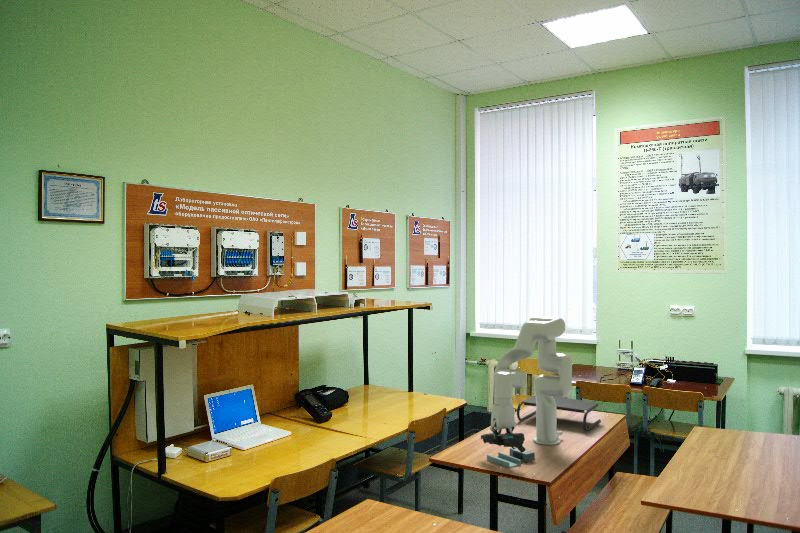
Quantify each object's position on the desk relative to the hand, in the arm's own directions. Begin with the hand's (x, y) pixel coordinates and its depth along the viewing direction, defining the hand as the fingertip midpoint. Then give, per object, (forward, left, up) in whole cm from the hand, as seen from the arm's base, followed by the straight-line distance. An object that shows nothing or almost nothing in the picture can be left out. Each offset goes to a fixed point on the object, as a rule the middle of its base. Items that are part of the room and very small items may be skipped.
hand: (503, 443), depth 243 cm
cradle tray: (0, 0, -8) cm, 8 cm away
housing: (-10, +1, -8) cm, 13 cm away
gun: (0, 0, -2) cm, 2 cm away
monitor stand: (-71, -30, -9) cm, 78 cm away
